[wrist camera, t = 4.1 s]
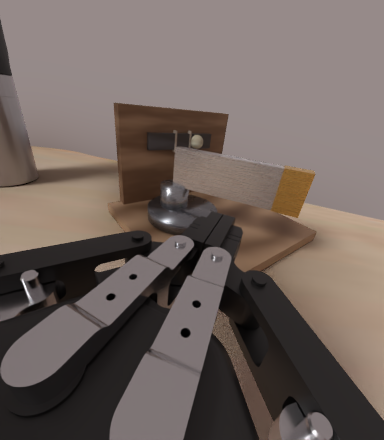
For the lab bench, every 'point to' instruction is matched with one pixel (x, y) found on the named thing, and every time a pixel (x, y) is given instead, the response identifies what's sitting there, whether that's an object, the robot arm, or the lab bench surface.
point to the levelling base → (164, 169)
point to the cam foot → (225, 187)
